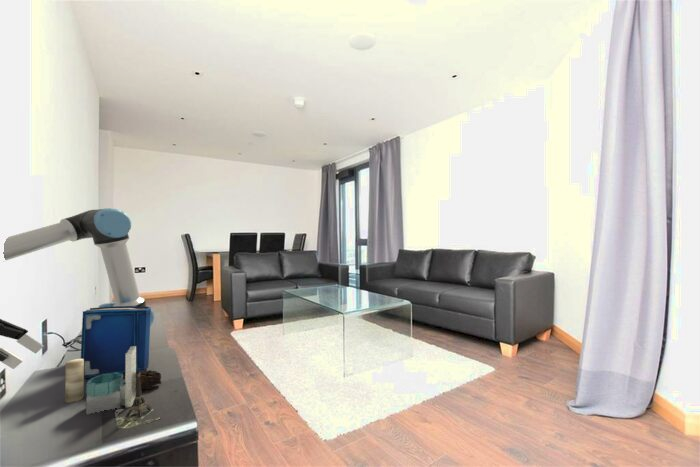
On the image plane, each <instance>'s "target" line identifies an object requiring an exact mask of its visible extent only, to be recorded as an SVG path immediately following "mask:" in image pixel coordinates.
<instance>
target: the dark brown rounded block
mask: <svg viewBox="0 0 700 467" xmlns="http://www.w3.org/2000/svg"><path fill="white" fill-rule="evenodd" d="M138 373H140V374H141V375H140V382H141V390H153V387H155V386H158V385H161V384H162V381H161V380H162V376H161V372H158V371H156V370H152V369H151V370H150V369H149V370H147V369H145V370H144V371H140V372H138ZM138 373H136V391H137V381H138V376H137V375H138ZM123 381H125V379H123Z"/></svg>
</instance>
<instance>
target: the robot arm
mask: <svg viewBox="0 0 700 467" xmlns="http://www.w3.org/2000/svg"><path fill="white" fill-rule="evenodd" d="M131 229H132V221H131V218H130V217H129V215H128V214H126V213H125V212H124V211H123V210H120V209H117V208H107V207H106V208H100V209H90V210H86V211H84V212H81V213H78V214H75V215H72V216H69V217H65V218H62V219H61V220H60V221H59V222H57V223H54V224H50V225H47V226H46V225H45V226H42V227H40V228H39V227H38V228H35V229H33V230H29V231H25V232H22V233H18V234H15V235H11V236H7V237H8V238H7V239H6V241H5V243H4V252H3V254H4V258H5V260H6V261H9V260H12V259H15V258H19V257H21V256H24V255H27V254H31V253H34V252H37V251H40V250H43V249H46V248H50V247H53V246H56V245H59V244H62V243H65V242H66V243H67V242H68V241H71V242H77V241H80V240H84V239H91V238H92V241H93V243H94V244H93V245H94V246H96V247H98V248H100V253H101V256H102V259H103V262H104V265H105V269H106V274H107V278H108V281H109V284H110V288H111V292H112V294H113V295H112V296H113V299H114V301H112V302H107V303H101V304H100V305H98V308H99V307H111V306H135V307H148V306H147V304H146V303H147V302H146V298H144V297H142V296H140V292H139V290H138V285H137V282H136V278H135V273H134V269H133V265H132V262H131V258H130V254H129V250H128V247H127V242H128V241H129V240H130V236H129V233H130V230H131ZM154 321H155V313H154V311H153V310H152V309H151V317H150V328H151V326H152V325H153V323H154ZM27 333H29V330H27V329H26V328H23V327H21V326H18V325H17V324H13V323H12V322H8V321H6V320H4V319H1V318H0V336H1V337H5V338H9V339H13V340H16V342H17V344H20V345H21V346H23V347H25V348H26V349H27V350H29V351H31V353H34V354H35V355H36V354H37V353H38V352H40V351H41V350H42V349H43V348H44V347H45V345H43V344H42V343H41V342H39V341H37V340H35V339H34V338H33V337H32V336H30V335H28V334H27ZM24 361H25V360H24V359H22V358H21V357H19V356H18V355H16V354H14V353H13V352H11V351H10V350H8V349H6V348H5V347H3V346H1V347H0V362H1V363H3V364H4V365H5V366H7V367H9V368H10V369H12V370H14V369H16V368H17V367H18V366H19V365H20V364H22V362H24Z"/></svg>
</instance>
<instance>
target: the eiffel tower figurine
mask: <svg viewBox="0 0 700 467" xmlns="http://www.w3.org/2000/svg"><path fill="white" fill-rule="evenodd" d="M137 374H138V375H137ZM137 374H136V375H137V376H138V381H137V390H136V396H135V399H134V401H133V404H132V406H131V407H130V408H129V410H128V412H127V413H126V415H121V416H122V417H120V418H119V417H116V418H114V419H115V423H116V424H115V425H116V428H117V429H130V428H134V427H137V426H139V425H140V426H141V425H144V426H145V425H147V424H149V423H152V422H155V421H158V420H161V417H156V418H152V419H151V418H150V419H146V420H144V421H141V420H143V419H144V418H145V417H146V416H148V415H149V414H150V413H151V412H153V411H154V410H155V408H152V407H151V406H150V405H149V404H148V402H147V401H145V399H144V394H143V391H142V389H141V382H140V375H141V374H140V373H139V372H137ZM115 412H116V411H115ZM116 413H118V412H116Z"/></svg>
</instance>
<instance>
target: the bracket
mask: <svg viewBox="0 0 700 467" xmlns="http://www.w3.org/2000/svg"><path fill="white" fill-rule="evenodd" d="M136 375H137V372H136V346H132V347H130V348H129V350H128V352H127V353H126V372H125V381H123V380H124V379H123V377H124V375H123V374H122V373H117V372H113V373H107V374H101V375H99V376H96V377H94V378H89V379H88V380H87V382H86V412H85V413H86V414H87V415H91V413H92V414H96V413H95V412H97V413H101V412H100V411H102V412H105V411H104V410H107V411H111V410H110V409H112V410H115V408H117V409H119V408H122V407H123V406H125V407H124V408H126V409H127V408H131V406H132V405H133V403H134V400H135V397H136V391H137V390H136Z"/></svg>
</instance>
